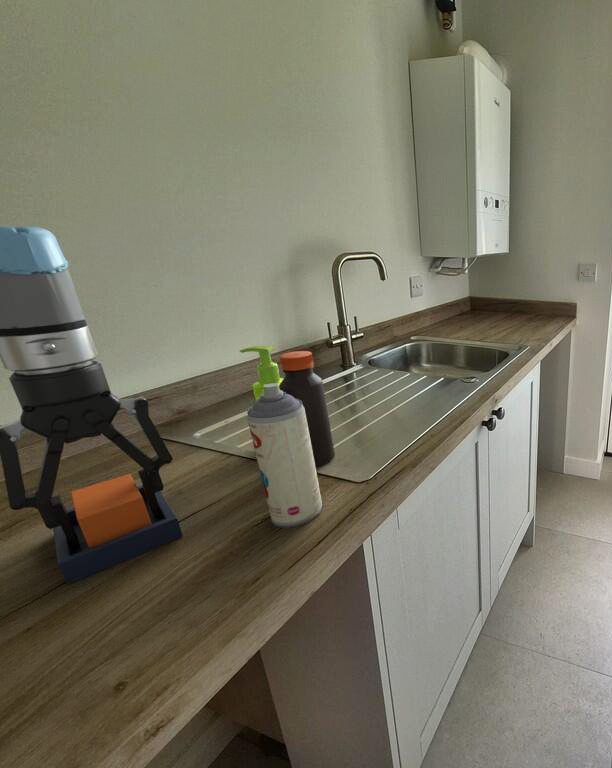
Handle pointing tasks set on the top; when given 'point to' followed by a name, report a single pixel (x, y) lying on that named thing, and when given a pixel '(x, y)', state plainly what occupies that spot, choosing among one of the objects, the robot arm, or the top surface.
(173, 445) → the top surface
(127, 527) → the block
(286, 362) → the bottle
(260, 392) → the soap dispenser
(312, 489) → the aerosol can
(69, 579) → the dark blue rectangular tray
